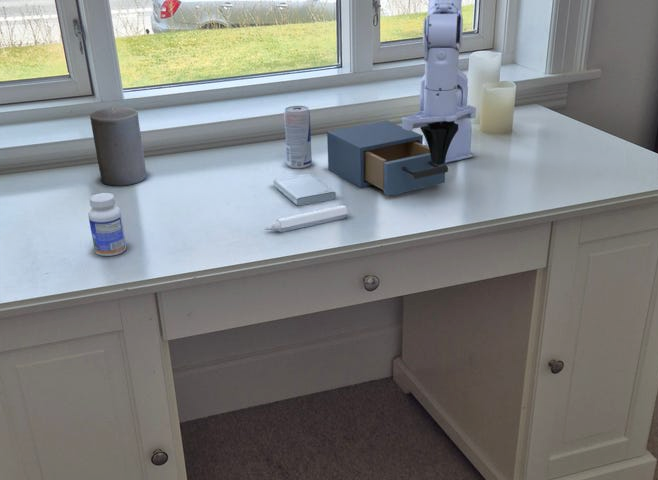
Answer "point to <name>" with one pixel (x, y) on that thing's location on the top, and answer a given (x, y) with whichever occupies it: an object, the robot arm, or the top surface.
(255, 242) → the top surface
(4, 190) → the top surface
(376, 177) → the drawer
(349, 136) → the cabinet
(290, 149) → the energy drink
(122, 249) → the pill bottle
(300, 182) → the hard drive
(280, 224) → the marker
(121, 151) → the pillar candle
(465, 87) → the robot arm
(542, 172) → the top surface
